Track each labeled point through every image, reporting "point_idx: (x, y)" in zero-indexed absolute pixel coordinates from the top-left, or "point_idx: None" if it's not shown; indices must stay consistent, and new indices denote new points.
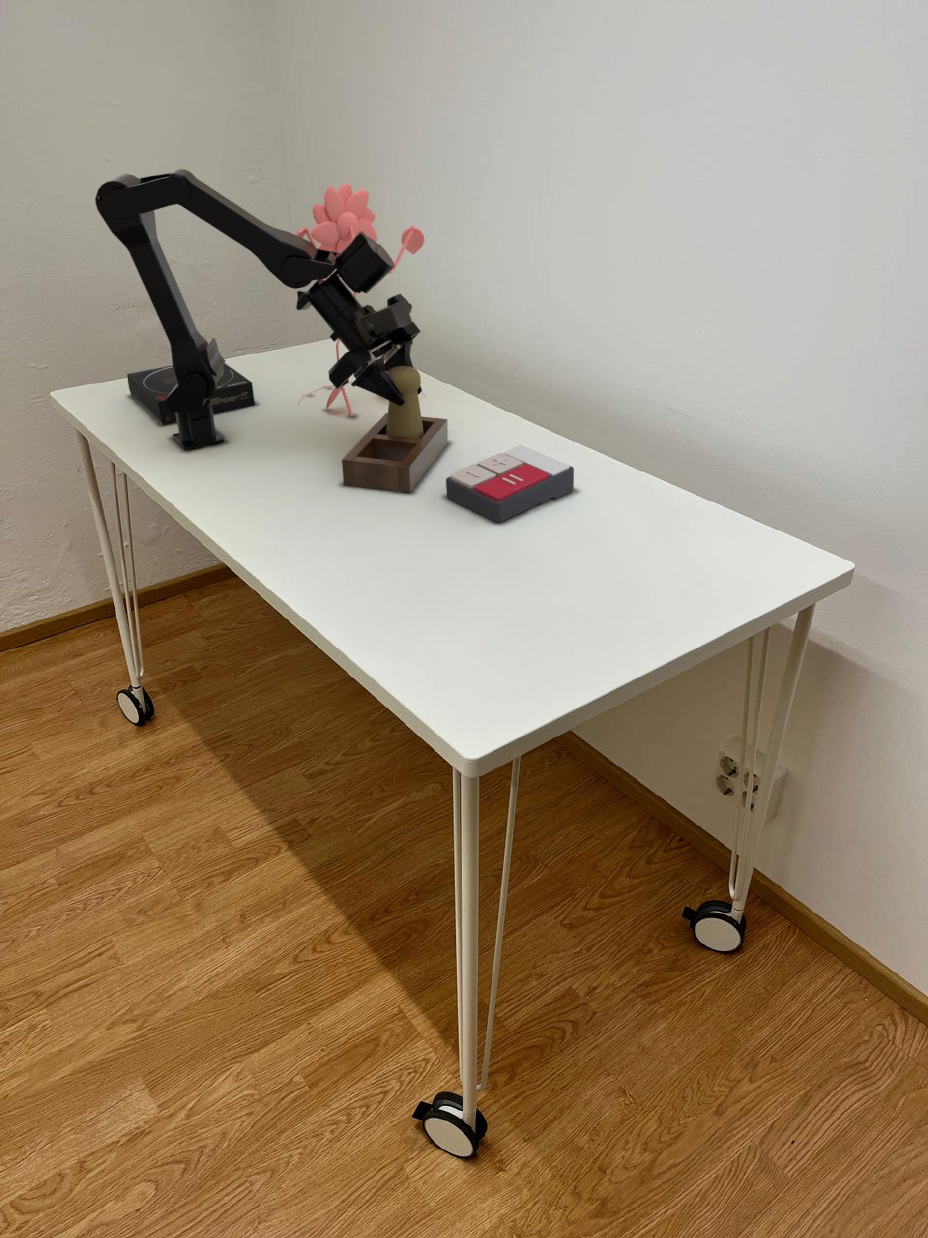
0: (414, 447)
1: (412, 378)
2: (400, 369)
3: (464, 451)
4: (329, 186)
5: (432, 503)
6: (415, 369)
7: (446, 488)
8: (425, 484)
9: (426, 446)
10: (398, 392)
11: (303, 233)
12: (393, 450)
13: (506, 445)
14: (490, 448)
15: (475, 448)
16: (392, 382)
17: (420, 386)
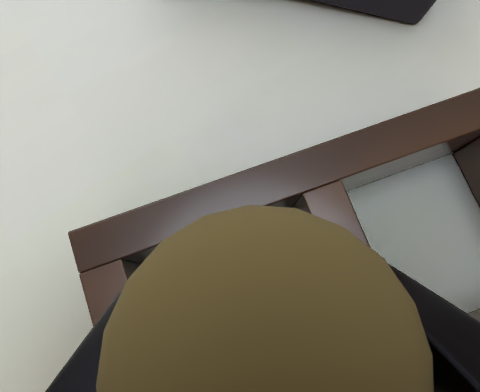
0: (382, 160)
1: (305, 215)
2: (317, 384)
3: (132, 158)
4: None
5: (468, 33)
6: (165, 282)
7: (433, 3)
8: (394, 114)
9: (338, 138)
10: None
11: None
12: None
13: (24, 82)
14: (69, 108)
15: (93, 144)
16: (452, 341)
17: (112, 307)
